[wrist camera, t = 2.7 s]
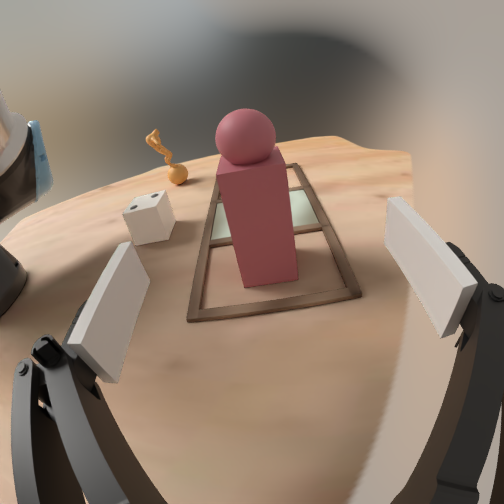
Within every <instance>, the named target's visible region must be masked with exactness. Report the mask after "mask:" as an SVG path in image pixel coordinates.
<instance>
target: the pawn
mask: <svg viewBox="0 0 504 504" xmlns="http://www.w3.org/2000/svg"><path fill="white" fill-rule="evenodd" d="M275 142H276V134H275V130H274V126H273V125H272V123H271V121H270V120H269V119H268V118H267V117H266V116H265V115H264V114H262V113H261V112H258V111H256V110H253V109H239V110H236V111H233V112H231V113H229V114H228V115H226V116H225V117H224V118H223V120H222V121H221V122H220V124H219V125H218V128H217V131H216V145H217V148H218V150H219V152H220V153H221V155H222V156H221V158H220V162H219V165H218V169H217V173H216V178H217V182H218V186H219V190H220V194H221V198H222V202H223V206H224V210H225V214H226V218H227V222H228V226H229V230H230V234H231V238H232V242H233V246H234V250H235V254H236V258H237V261H238V265H239V269H240V273H241V277H242V281H243V285H244V288H247V287H254V286H260V285H267V284H274V283H280V282H287V281H293V280H298V271H297V260H296V250H295V240H294V230H293V221H292V212H291V203H290V195H289V187H288V179H287V171H286V164H285V161H284V159H283V157H282V155H281V153H280V150H279V148H278V146H276V147H274V146H275Z"/></svg>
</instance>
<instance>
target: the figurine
mask: <svg viewBox="0 0 504 504" xmlns="http://www.w3.org/2000/svg"><path fill="white" fill-rule="evenodd" d="M158 134H159V132H158V130H157V129H155V130H154V131H153V132H152V133H151V134H150V135H149V136H147V137H146V142H147V143H148V144H149V145H150V146H151V147H153V148H154V149H155V150H156V151H158V152H160V153H161V154H163V155H166V157H165V162H166V163H167V164H168V165H170V166H171V167H170V169H169V171H168V178H169V180H170V181H171V182H172V183H174V184H181V183H183V182H184V181H185V180H186V179H187V177H188V171H187V169H186V167H185V166H183V165H181V164H171V163H170V160H171V157H172V153H171V152H170V151H169V150H167V149H166V148H165V147H164V146H162V145H161V141H160V138H159V137H158Z"/></svg>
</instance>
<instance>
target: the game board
mask: <svg viewBox="0 0 504 504" xmlns="http://www.w3.org/2000/svg"><path fill="white" fill-rule="evenodd" d="M291 167H293V169H294V171H295V173H296V175H297V177H298V179H299V181H300V183H301V185H302V186H300V187H293V188H289V195H290V203H291V212H292V221H293V230H294V234H299V233H306V232H312V231H319V230H322V231H323V233H324V235H325V237H326V240H327V242H328V244H329V247H330V249H331V251H332V254H333V256H334V258H335V261H336V263H337V266H338V268H339V271H340V273H341V275H342V278H343V280H344V283H345V285H346V288H343V289H337V290H332V291H326V292H320V293H315V294H309V295H302V296H296V297H290V298H284V299H277V300H270V301H263V302H256V303H249V304H242V305H234V306H226V307H218V308H210V309H201V310H200V308H201V301H202V294H203V288H204V281H205V275H206V268H207V262H208V256H209V250H210V248H211V247H217V246H223V245H230V244H233V242H232V238H231V234H230V230H229V226H228V222H227V218H226V214H225V210H224V206H223V202H222V199H220V200H218V198H219V193H220V190H219V186H218V182H217V178H216V182H215V186H214V190H213V194H212V198H211V202H210V207H209V211H208V215H207V220H206V224H205V228H204V233H203V237H202V242H201V247H200V251H199V256H198V261H197V266H196V271H195V276H194V281H193V286H192V291H191V297H190V302H189V307H188V313H187V319H186V320H187V322H198V321H207V320H216V319H225V318H233V317H242V316H249V315H257V314H264V313H271V312H278V311H284V310H291V309H297V308H303V307H309V306H315V305H321V304H327V303H332V302H338V301H343V300H348V299H353V298H359V297H362V292H361V290H360V287H359V285H358V283H357V281H356V278H355V276H354V274H353V272H352V269H351V267H350V265H349V263H348V261H347V259H346V256H345V254H344V252H343V250H342V248H341V246H340V244H339V242H338V240H337V238H336V236H335V234H334V232H333V230H332V228H331V226H330V224H329V222H328V220H327V218H326V216H325V214H324V212H323V210H322V208H321V206H320V204H319V202H318V200H317V199H316V197H315V195H314V193H313V191H312V189H311V187H310V186H309V184H308V182H307V180H306V178H305V176H304V175H303V173H302V171H301V169H300V168H299V166H298V164H297V163H293V164H286V168H291Z"/></svg>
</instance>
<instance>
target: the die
mask: <svg viewBox="0 0 504 504" xmlns="http://www.w3.org/2000/svg"><path fill="white" fill-rule="evenodd" d="M122 215H123V218H124V220H125V222H126V225H127V227H128V229H129V232H130V234H131V236H132V238H133V241H134V243H135V245H136V246H137V245H143V244H148V243H153V242H158V241H164V240H169V237H170V235H171V232H172V229H173V227H174V224H175V222H176V219H175V216H174V213H173V210H172V207H171V204H170V201H169V198H168V195H167V192H166V190H163V191H159V192H155V193H151V194H147V195H143V196H139V197H135V198H134V199H133V200H132V202H131V203H130V204H129V206H128V207H127V208H126V210H125V211H124V212H123V214H122Z"/></svg>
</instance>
